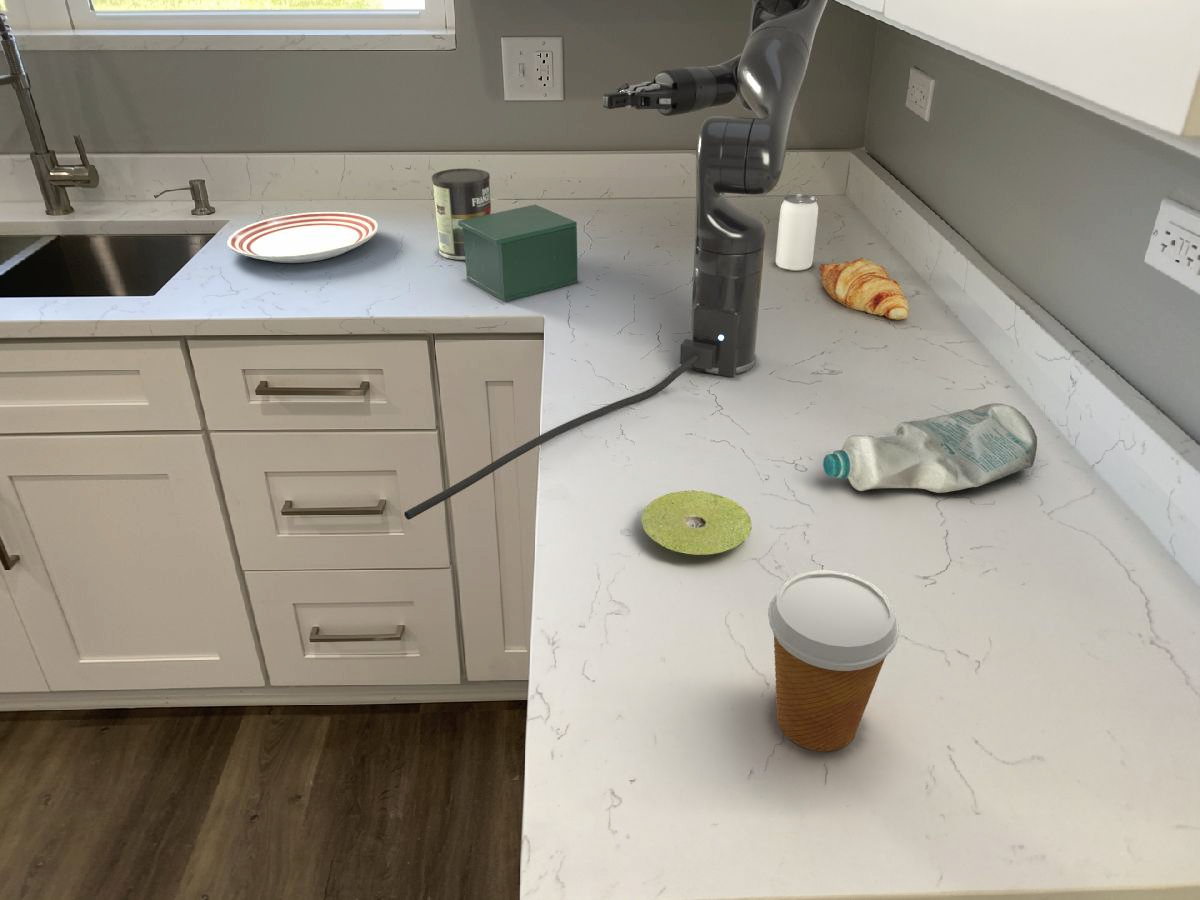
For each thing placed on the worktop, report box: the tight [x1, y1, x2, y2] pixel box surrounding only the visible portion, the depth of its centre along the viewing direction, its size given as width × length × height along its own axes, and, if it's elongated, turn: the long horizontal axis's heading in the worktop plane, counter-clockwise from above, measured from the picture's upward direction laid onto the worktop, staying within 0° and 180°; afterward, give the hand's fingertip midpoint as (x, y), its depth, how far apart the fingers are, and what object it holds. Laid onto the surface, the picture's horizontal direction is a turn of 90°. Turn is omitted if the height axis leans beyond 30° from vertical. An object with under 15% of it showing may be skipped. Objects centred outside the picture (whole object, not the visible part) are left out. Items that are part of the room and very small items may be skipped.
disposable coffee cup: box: [767, 569, 900, 752], centre depth 71 cm, size 10×10×12 cm
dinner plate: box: [226, 211, 379, 264], centre depth 174 cm, size 28×27×3 cm
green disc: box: [641, 490, 752, 556], centre depth 95 cm, size 11×11×2 cm
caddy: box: [463, 226, 579, 303], centre depth 156 cm, size 15×13×10 cm
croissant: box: [819, 257, 910, 320], centre depth 149 cm, size 21×10×8 cm, turn 26°
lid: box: [458, 204, 578, 245], centre depth 153 cm, size 15×13×1 cm
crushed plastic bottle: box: [822, 402, 1038, 494], centre depth 103 cm, size 13×7×25 cm
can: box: [775, 193, 819, 272], centre depth 162 cm, size 6×6×12 cm
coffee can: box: [431, 167, 492, 261], centre depth 169 cm, size 10×10×14 cm
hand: (605, 101), depth 154 cm, fingers closed
